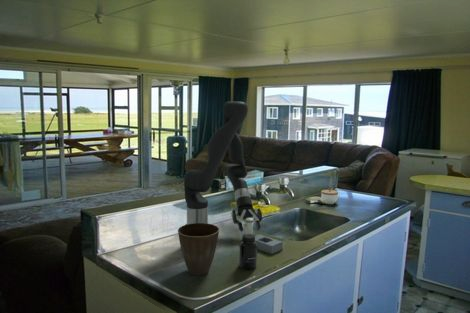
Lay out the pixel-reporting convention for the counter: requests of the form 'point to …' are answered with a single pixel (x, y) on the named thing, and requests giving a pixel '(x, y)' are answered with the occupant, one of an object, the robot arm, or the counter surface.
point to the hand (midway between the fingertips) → (250, 230)
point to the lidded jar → (329, 196)
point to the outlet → (268, 244)
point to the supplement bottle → (248, 252)
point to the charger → (249, 226)
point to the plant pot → (198, 246)
